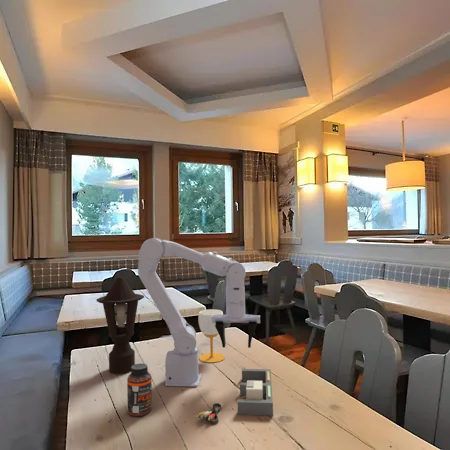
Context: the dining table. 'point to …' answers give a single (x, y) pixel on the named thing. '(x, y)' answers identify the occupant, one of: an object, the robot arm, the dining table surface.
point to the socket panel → (256, 405)
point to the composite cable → (210, 414)
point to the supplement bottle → (139, 390)
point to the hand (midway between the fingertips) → (236, 346)
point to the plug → (254, 390)
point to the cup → (209, 334)
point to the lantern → (120, 324)
